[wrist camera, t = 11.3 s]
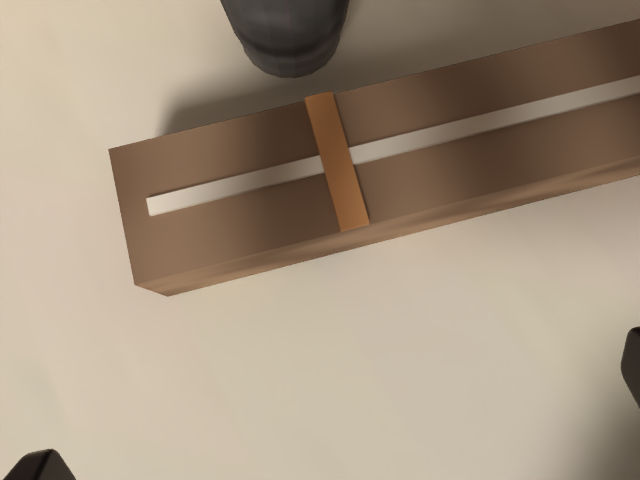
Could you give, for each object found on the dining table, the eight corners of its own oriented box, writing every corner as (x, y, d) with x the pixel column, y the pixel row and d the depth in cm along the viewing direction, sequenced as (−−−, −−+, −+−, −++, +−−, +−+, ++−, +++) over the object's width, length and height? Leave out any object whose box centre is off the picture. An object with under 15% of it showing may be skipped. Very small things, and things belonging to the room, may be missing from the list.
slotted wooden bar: (715, 41, 25) (795, -24, 20) (760, 143, 24) (855, 98, 19) (144, 183, 23) (105, 146, 19) (167, 296, 22) (131, 283, 18)
